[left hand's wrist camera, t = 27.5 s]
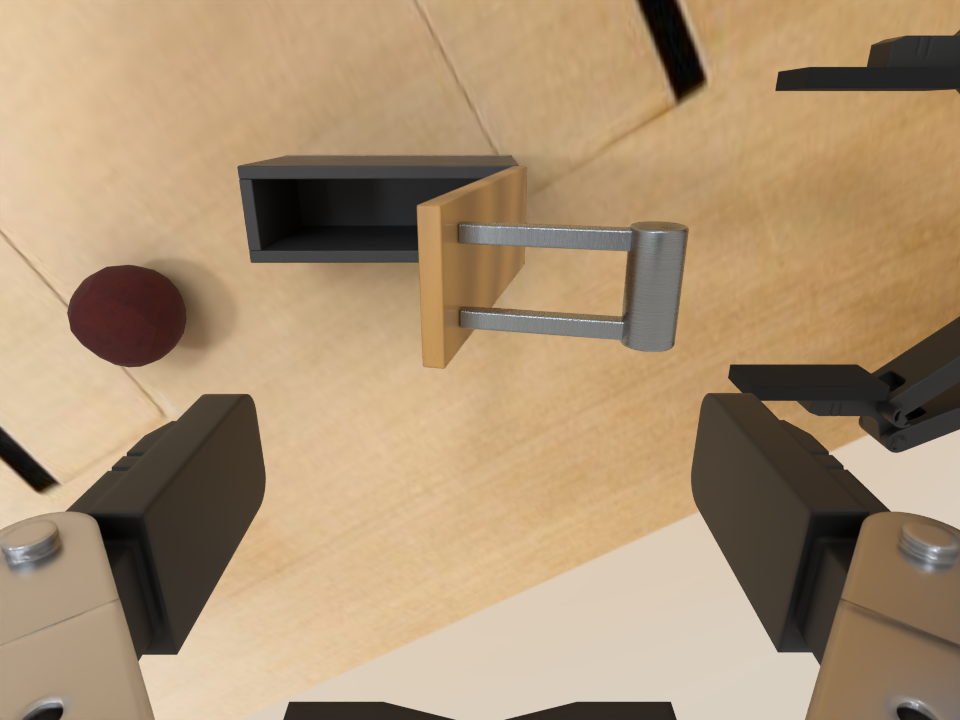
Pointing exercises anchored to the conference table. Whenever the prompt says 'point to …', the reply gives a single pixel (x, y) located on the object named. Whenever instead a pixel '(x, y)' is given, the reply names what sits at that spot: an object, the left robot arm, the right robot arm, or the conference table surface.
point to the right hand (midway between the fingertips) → (762, 244)
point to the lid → (501, 254)
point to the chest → (348, 203)
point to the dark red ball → (127, 315)
